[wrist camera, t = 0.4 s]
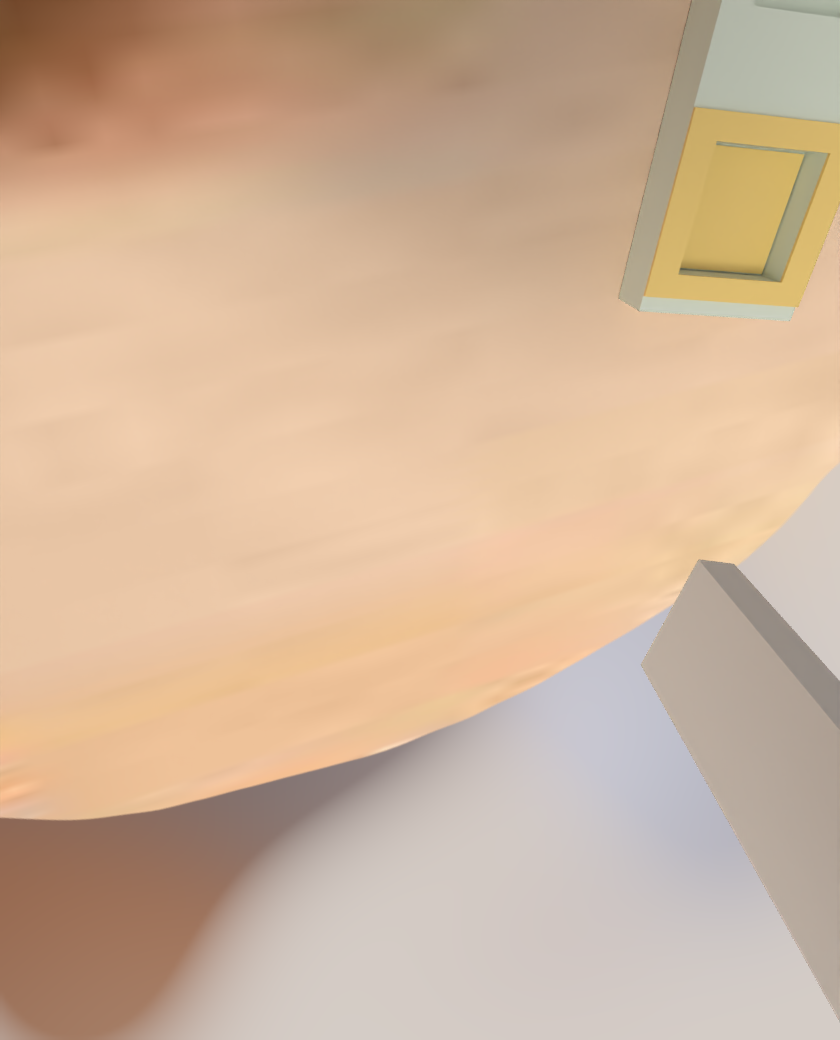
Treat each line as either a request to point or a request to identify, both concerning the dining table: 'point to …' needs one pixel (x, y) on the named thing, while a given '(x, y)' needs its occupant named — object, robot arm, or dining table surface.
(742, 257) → the sorting tray
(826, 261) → the dining table surface
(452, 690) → the dining table surface
